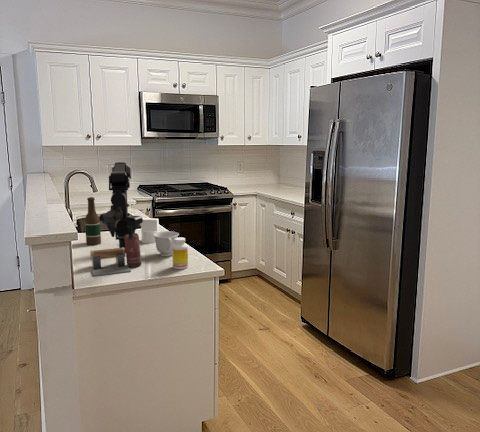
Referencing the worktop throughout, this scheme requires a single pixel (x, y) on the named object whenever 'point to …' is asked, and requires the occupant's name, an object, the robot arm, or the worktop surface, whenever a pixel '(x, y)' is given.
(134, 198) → the worktop surface
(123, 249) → the rail
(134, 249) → the can
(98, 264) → the post
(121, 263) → the post
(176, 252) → the supplement bottle
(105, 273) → the mat
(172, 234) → the teacup
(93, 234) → the beer bottle
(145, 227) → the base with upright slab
